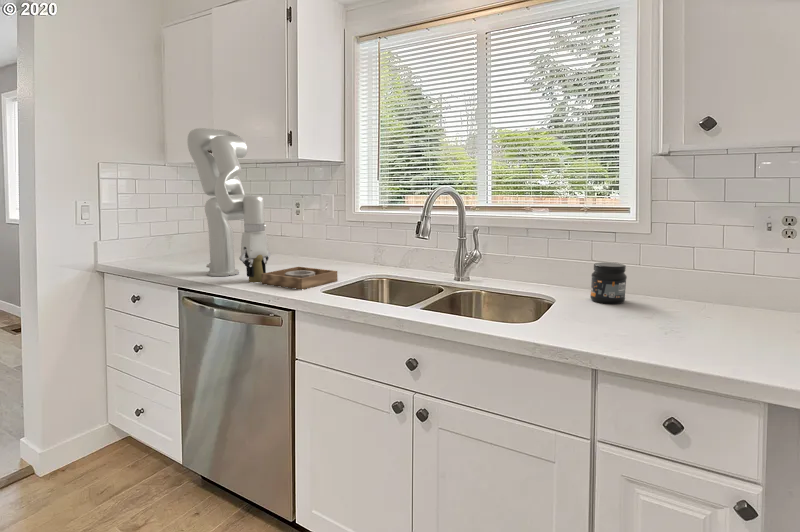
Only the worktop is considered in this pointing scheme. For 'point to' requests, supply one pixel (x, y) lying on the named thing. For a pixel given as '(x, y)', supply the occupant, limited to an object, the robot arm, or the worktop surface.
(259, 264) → the cork
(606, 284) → the supplement container
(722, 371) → the worktop surface
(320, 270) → the box
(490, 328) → the worktop surface
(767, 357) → the worktop surface
